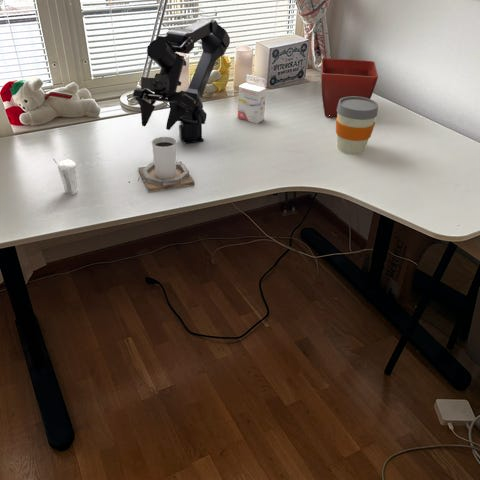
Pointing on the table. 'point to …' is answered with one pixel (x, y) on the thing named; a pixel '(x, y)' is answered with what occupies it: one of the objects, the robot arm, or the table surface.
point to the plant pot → (346, 81)
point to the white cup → (164, 157)
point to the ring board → (161, 184)
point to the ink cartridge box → (252, 99)
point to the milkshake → (68, 176)
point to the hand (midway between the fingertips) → (155, 127)
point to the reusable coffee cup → (355, 123)
